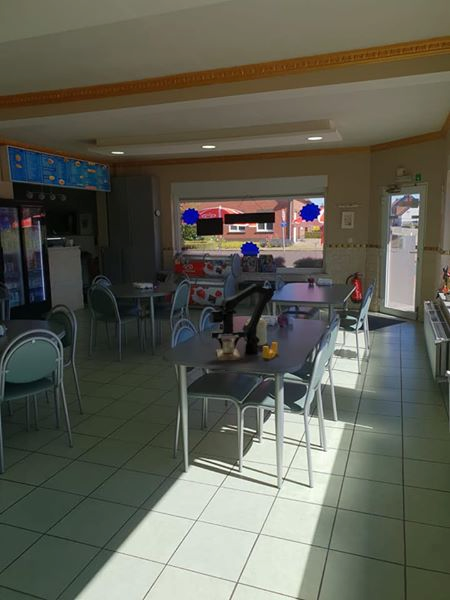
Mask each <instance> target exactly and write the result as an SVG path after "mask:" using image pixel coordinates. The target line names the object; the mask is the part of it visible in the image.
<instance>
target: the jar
mask: <svg viewBox="0 0 450 600" xmlns="http://www.w3.org/2000/svg"><path fill="white" fill-rule="evenodd" d="M250 320H251V317H250V318H248V319H247V320H246V323H245V325H247V324H249V322H250ZM267 326H268V323H266V319H264V318H262V317H261V318H260V320H259V322H258V325H257V333H256V336H257V337H258V338H259V339H260V340H259V343H257V347H258V346H266V344H267V342H268V340H267V339H268V338H267V331H268V329H267Z"/></svg>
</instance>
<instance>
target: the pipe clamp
mask: <svg viewBox="0 0 450 600" xmlns="http://www.w3.org/2000/svg"><path fill="white" fill-rule="evenodd" d="M276 355H278V342H274V341H273V342H271V346H270V347H269V346H267V345H262V358H263V359H268V360H271V359H273V358H274V357H276Z"/></svg>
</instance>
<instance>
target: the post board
mask: <svg viewBox="0 0 450 600" xmlns="http://www.w3.org/2000/svg"><path fill="white" fill-rule="evenodd" d="M215 352H216V356H217V360H218V361H241V359H242V357H241V355H240V352H239V351H238V349H237V348H235V349H234V352H227V353H223V351H222V348H221V349H215Z"/></svg>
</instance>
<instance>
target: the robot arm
mask: <svg viewBox="0 0 450 600" xmlns="http://www.w3.org/2000/svg"><path fill="white" fill-rule="evenodd" d="M255 293H258V301H257V304H256V306H255V308H254V311H253V313H252V315H251V317H250V318H251V320H250V322H249V324H247V325H246V324H244V325H243V327H242V330H236V331H234V314H237V313H238V312H237V311H236V310H235V308H236V307H237V306H238V304H239V303H240V302H242V301H244V300H245V299H247V298H249V297H250V296H252V295H254V294H255ZM274 295H275V292H274V289H273V288H272V287H267V286H259V285H258V284H254V283H253V284H251V285H250V286H248V287H246V288H244V289H243V290H242V291H240V292H238V293H237V294H234V295H232V296H229V297H226V298H224V299H222V301H221V302H220V303H221V304H220V306H219V307H218V309H217V310H210V313H209V316H208V319H209V323H210V324H218V323H219V324H218V327H219V328H218V329H219V330H211V332H210V336H211V337H210V338H211V339H215V340H217V341H218V343H219V344H220V348H221V349H223V346H222V339H223V338H222V337H227V336H233V337H234V338H233V340H234V349H236V346H237V344H238V341H239V340H241V338H242V339H244V341H245V343H244V352H245V354H249V355H250V354H251V355H252V354H259V352H258V346H257V343H259V340H260V339H259V338H258V337H257V336H256V333H257V325H258V322H259V320H260V318H262V315H263V313H264V310H265V308H266V306H267V304H268V303H269V302H271V300H272V298H273V297H274ZM219 331H221V332H219Z"/></svg>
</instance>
